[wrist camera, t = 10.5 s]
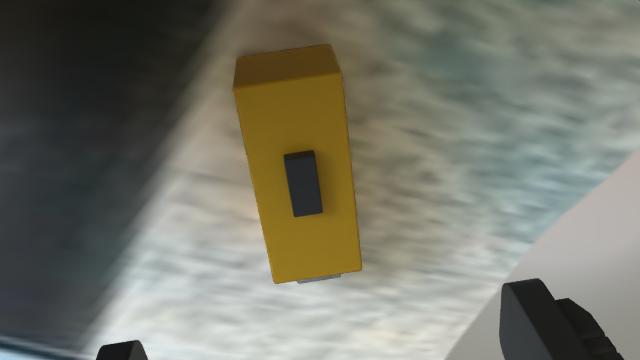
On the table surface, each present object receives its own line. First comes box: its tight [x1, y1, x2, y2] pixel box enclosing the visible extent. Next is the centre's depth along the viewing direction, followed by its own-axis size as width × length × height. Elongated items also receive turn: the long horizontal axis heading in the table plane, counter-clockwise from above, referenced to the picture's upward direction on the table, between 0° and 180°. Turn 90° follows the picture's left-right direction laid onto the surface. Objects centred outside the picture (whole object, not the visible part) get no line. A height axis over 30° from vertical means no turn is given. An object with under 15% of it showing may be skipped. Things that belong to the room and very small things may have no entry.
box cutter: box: [233, 44, 362, 284], centre depth 18 cm, size 8×3×3 cm, turn 7°
